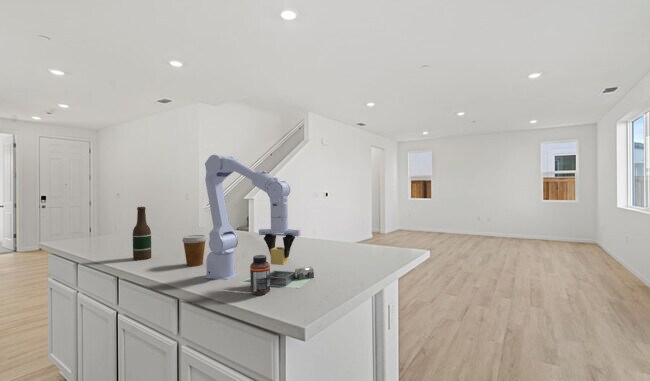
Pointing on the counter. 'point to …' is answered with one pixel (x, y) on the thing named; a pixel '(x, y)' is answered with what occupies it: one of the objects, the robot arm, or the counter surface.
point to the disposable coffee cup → (194, 249)
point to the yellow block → (278, 256)
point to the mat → (293, 284)
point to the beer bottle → (141, 237)
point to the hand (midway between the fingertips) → (279, 256)
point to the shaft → (304, 273)
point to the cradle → (282, 278)
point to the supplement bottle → (260, 275)
